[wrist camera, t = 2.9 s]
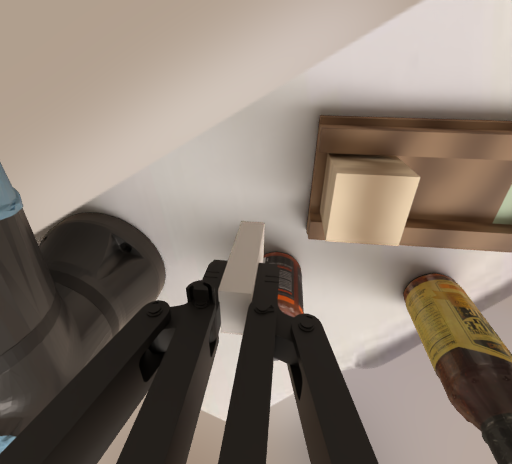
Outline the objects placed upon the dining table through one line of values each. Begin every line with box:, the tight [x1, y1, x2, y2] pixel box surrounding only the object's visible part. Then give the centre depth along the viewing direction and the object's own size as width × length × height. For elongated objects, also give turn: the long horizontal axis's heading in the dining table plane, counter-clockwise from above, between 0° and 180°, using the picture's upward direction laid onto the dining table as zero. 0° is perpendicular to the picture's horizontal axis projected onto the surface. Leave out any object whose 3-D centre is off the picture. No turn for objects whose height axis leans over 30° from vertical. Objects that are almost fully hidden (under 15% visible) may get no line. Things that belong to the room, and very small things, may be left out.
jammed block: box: [320, 153, 420, 246], centre depth 25 cm, size 6×6×6 cm
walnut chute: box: [306, 115, 512, 252], centre depth 27 cm, size 24×12×3 cm, turn 89°
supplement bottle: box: [263, 252, 304, 361], centre depth 31 cm, size 6×6×11 cm
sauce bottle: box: [404, 273, 512, 464], centre depth 26 cm, size 6×6×20 cm
